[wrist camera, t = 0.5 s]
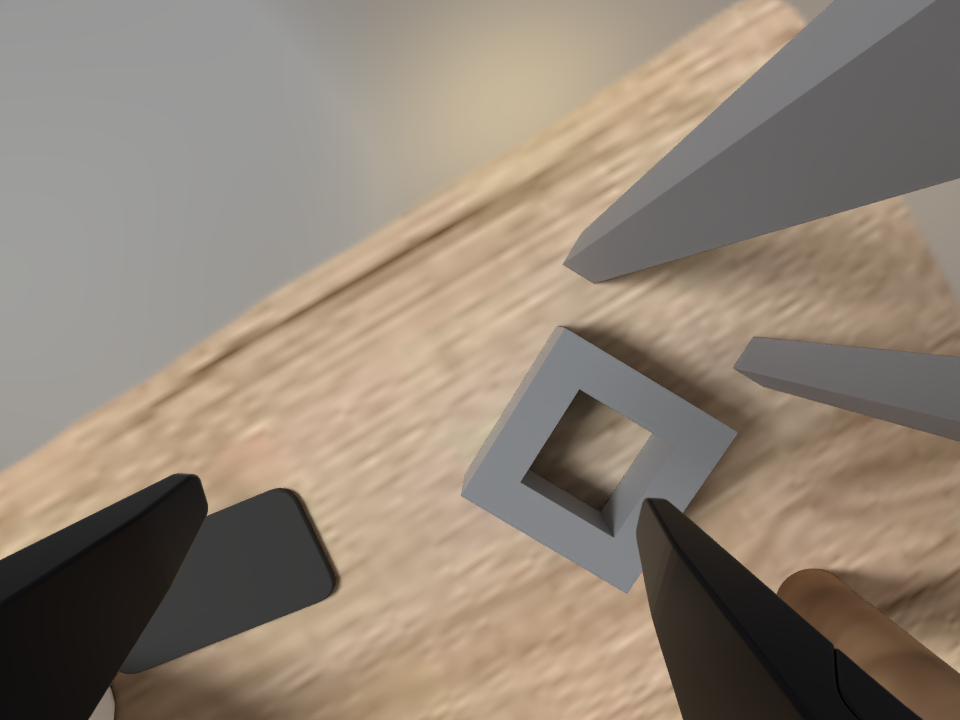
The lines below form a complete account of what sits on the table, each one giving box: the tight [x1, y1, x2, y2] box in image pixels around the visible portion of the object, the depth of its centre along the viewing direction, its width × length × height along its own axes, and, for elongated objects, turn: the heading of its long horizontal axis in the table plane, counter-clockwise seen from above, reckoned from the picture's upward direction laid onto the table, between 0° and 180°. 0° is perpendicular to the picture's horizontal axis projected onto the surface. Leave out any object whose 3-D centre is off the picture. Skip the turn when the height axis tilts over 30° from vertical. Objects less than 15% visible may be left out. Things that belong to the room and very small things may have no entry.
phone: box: [119, 488, 335, 674], centre depth 27 cm, size 7×1×15 cm
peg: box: [777, 569, 960, 720], centre depth 20 cm, size 4×4×13 cm
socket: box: [461, 326, 738, 593], centre depth 24 cm, size 10×10×3 cm
